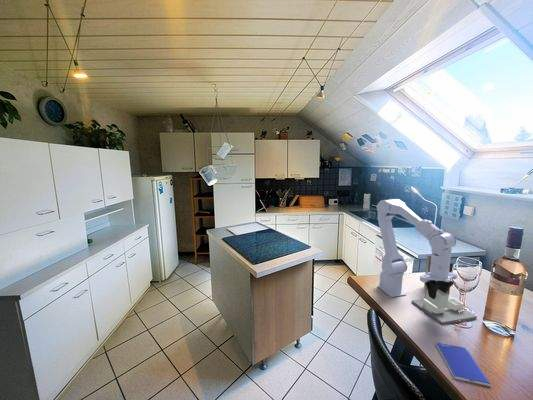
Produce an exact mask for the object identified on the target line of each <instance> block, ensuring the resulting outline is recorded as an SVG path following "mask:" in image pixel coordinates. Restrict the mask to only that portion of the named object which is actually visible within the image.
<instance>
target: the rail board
mask: <svg viewBox="0 0 533 400" xmlns="http://www.w3.org/2000/svg"><path fill="white" fill-rule="evenodd" d="M411 304H413V305H414V306H415V307H417V308H419V310H422V312H424V313H425V314H426V315H428V316H430V317H431V318H432V319H433V320H435V321H436V322H437V323H438V324H440V325H442V326H443V325H448V324H453V322H455V323H457V322H456V321H459V320H466V321H471V320H476V319H478V316H477V315H475V314H474V313H472V312H470V311H468V310H467V309H465V310H464V311H462V312H460V313H459V312H458V310H463V308H464V305H465V304H464V303H463V302H462V301H460V300H458V299H456V298H455V297H453V296H451V295H450V294H449V298H448V306H447V307H446V308H438V307H437V306H435V305H434V304H432V303H431V302H429V301H428V300H426V297H425V298H420V299H411Z"/></svg>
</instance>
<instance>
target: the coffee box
mask: <svg viewBox="0 0 533 400" xmlns="http://www.w3.org/2000/svg"><path fill="white" fill-rule="evenodd" d="M425 260H426V261H425V272H424V273H425V274H427V273H429V272H430V265H431V255H426V259H425ZM453 266H454V263H452V262H451V261H450V267H449V272H453ZM425 274H424V275H425ZM450 280H451V281H452V279H450ZM436 283H437V280H436ZM423 285H424V288H425V289H427V286H426V284H425V283H423ZM450 289H451V287H450V288H449V289H448V291H447V293H446V294H448V295H450Z"/></svg>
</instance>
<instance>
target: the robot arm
mask: <svg viewBox="0 0 533 400" xmlns="http://www.w3.org/2000/svg"><path fill="white" fill-rule="evenodd" d="M376 211H377V221H378V226H379V227H378V228H379V231H380V235H381V240H382V244H383V245H382V246H383V250H384V255H383V257H382V258H381V272H380V273H379V285H377V288H379V289H380V290H381V291H383V292H384V293H386V295H387V296H389V297H391V298H394V297H402V296H407V293H405V292H404V291H403V277H404V275H405V273H406V272H407V271H408V264H407V262H406V261H405V259H404V256H403V255H402V254H400V253H399V250H398V246H397V241H396V237H395V233H394V232H395V231H394V227H393V224H392V219H394V216H395V215H400V216H401V217H403V218H404V219H405V220H407V221H408V222H410V223H411V224H412V225H414V226H415V231H417V232H418V233H419V234H420V235H422V236H423V237H424V238H425V239H426V240H428V243H429V246H430V247H431V255H430V256H431V265H430V272H429V273H427V274H423V275H420V276H419V281H420V282H421V283H423V284H424V283H425V284H426V286H427V288H426V291H427V290H428V294H429V297H431V298H432V299H435V297H436V293H437V290H438V289H439V290H441V291H443V292H444V293H447V291H448V289H449V288H450V289H451V287H452V286H454V283H455V282H454V281H452V279H453V280H457V279H458V274H457V273H455V272H453V271H452V272H449V267H450V262H451V258H452V248H454V247H456V245H457V238H456V237H455V236H454V235H453V234H452V233H451V232H446V231H444V230H443V229H441V228H439V227H438V226H436V225H435V224H433V221H431V220H428V219H422V218H421V217H420V216H418V215H417V214H416V213H415V212H414V211H413V210H411V209H410V207H408V206H407V205H406V202H404V201H403V200H401V199H399V198H392V199H382V200H380V201H378V203H377V204H376ZM450 279H451V280H450ZM436 280H437V283H436Z"/></svg>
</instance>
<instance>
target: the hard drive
mask: <svg viewBox="0 0 533 400" xmlns="http://www.w3.org/2000/svg"><path fill="white" fill-rule="evenodd" d="M435 346H436V348H437V349H438V352H439V353H440V354H441V357H442V359H443V361H444V362H445V364H446V366H447V367H448V369H449V371H450V373H451V374H452V377H453V378H454V380H458V381H459V380H460V381H466V382H470V383H474V384H478V385H481V386H482V385H483V386H488V387H491V385H492V384H491V382H490V381H489V380H488V378H487V377H486V375H485V374H484V372H483V371H482V370H481V368H480V366H479V365H478V364H477V362H476V360H475V359H474V358H473V357H472V355H471V353H470V352H469V350H468V349H467V348H466V347H464V346H459V345H453V344H449V343H447V344H446V343H442V342H436V343H435Z"/></svg>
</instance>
